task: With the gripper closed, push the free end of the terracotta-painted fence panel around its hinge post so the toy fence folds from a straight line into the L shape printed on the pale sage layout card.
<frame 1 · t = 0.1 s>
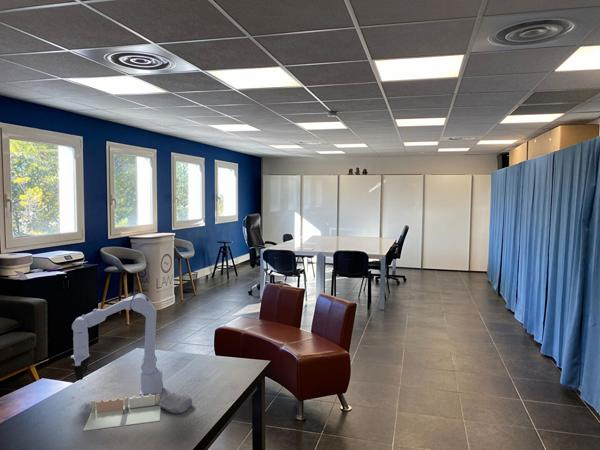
hand: (81, 376, 184), 10 cm above the table, fingers open, 7 cm apart
layout card: (125, 415, 170), on the table
fence fixed: (126, 409, 175), resting on layout card
fence panel: (107, 404, 173), point 3 cm above the table, hinge at 0.0°
stone block: (174, 408, 176), on the table, touching layout card
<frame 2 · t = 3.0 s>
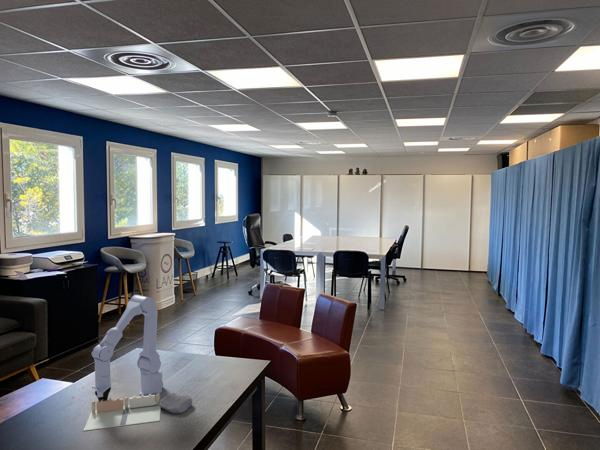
hand: (103, 406, 174), 1 cm above the table, fingers closed
fence panel: (107, 404, 173), point 3 cm above the table, hinge at 0.0°, touching gripper
everything else where it was.
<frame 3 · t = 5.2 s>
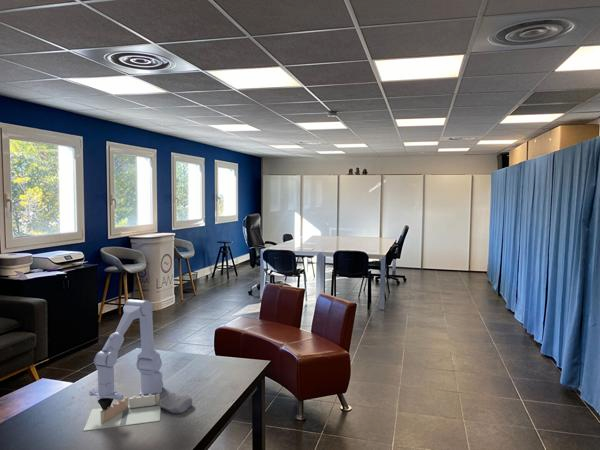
hand: (106, 415, 167), 1 cm above the table, fingers closed
fence panel: (113, 410, 168), point 3 cm above the table, hinge at 52.8°, touching gripper
everything else where it was.
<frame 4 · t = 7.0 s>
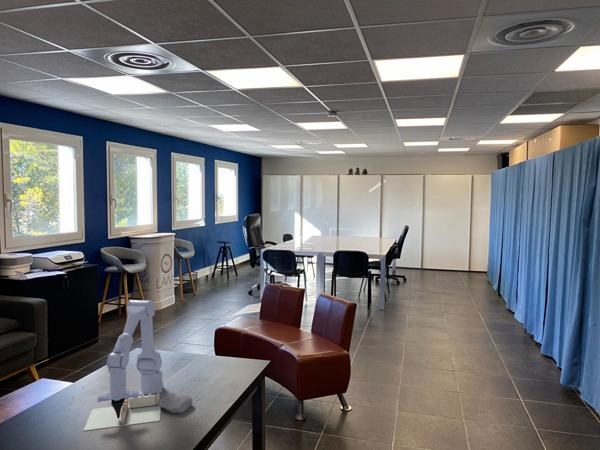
hand: (118, 417, 166), 1 cm above the table, fingers closed
fence panel: (124, 410, 168), point 3 cm above the table, hinge at 90.0°, touching gripper
everything else where it was.
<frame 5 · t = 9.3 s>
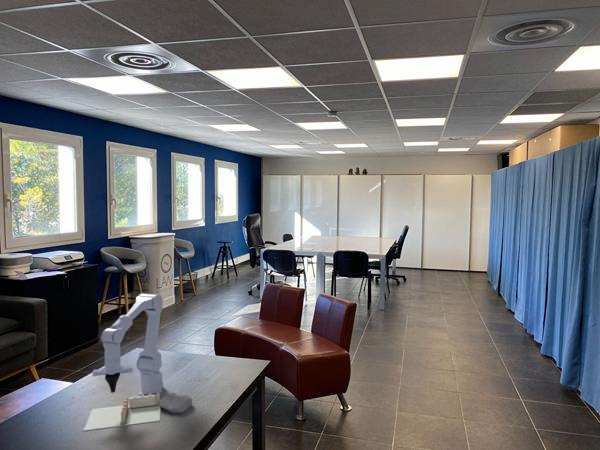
hand: (113, 391, 170), 9 cm above the table, fingers closed
fence panel: (124, 410, 168), point 3 cm above the table, hinge at 90.3°
everything else where it was.
at the end: fence panel at +90° (first picture: +0°); fence panel touching nothing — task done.
